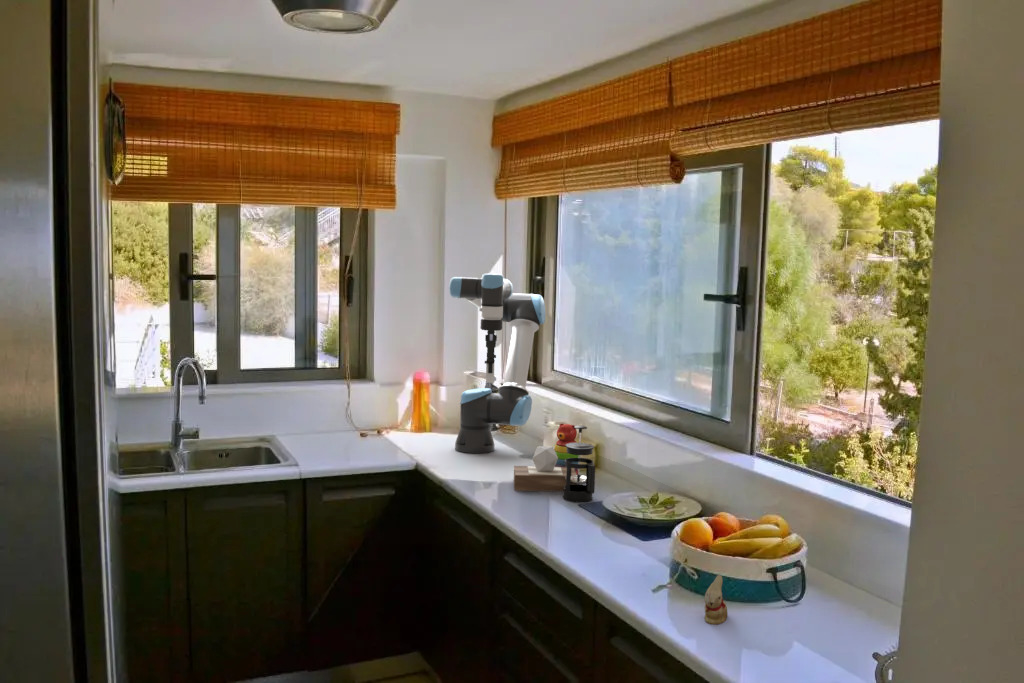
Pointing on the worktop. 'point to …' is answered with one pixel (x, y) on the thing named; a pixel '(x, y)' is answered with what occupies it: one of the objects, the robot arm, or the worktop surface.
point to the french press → (576, 490)
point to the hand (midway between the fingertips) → (489, 379)
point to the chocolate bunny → (715, 603)
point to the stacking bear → (565, 436)
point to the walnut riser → (540, 479)
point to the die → (545, 458)
